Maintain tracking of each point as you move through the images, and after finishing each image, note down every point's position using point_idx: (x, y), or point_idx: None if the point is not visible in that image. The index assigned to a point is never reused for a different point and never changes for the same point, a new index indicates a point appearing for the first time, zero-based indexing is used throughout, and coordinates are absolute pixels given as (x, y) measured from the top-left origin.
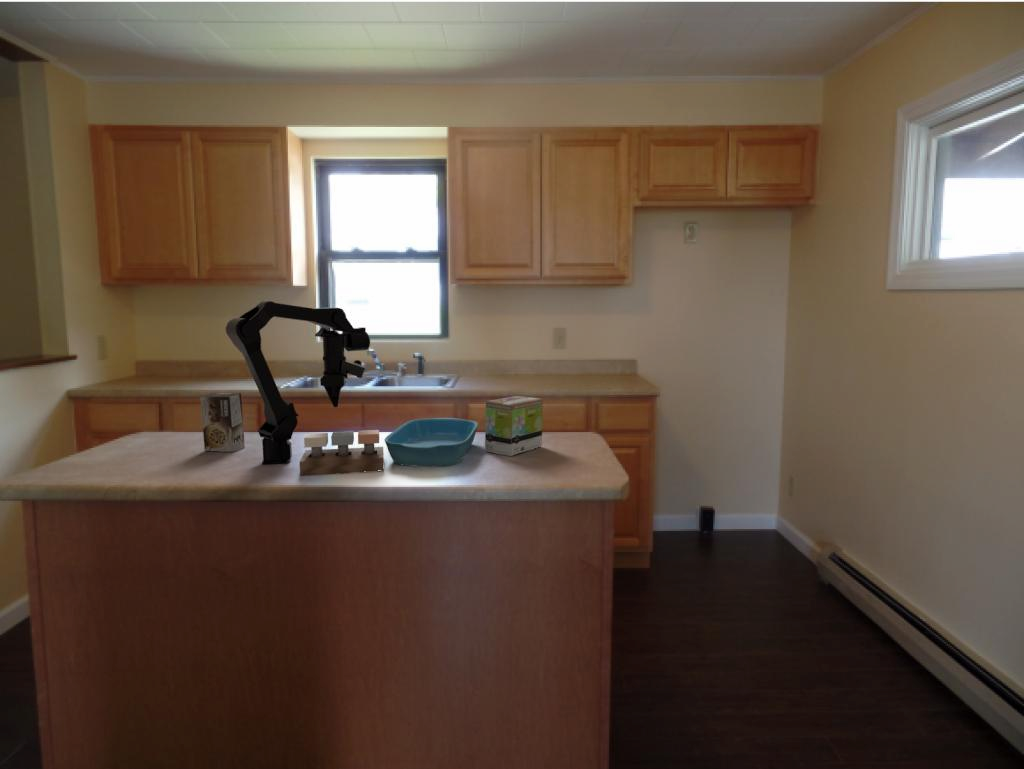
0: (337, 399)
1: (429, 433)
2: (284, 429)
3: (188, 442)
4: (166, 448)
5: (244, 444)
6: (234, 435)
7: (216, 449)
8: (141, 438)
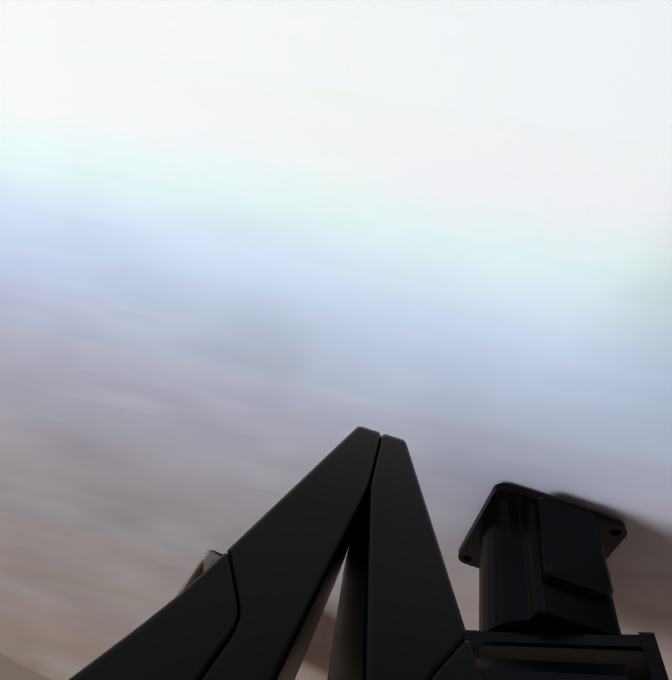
0: (435, 571)
1: None
2: None
3: (102, 622)
4: None
5: (204, 560)
6: None
7: None
8: (45, 663)
